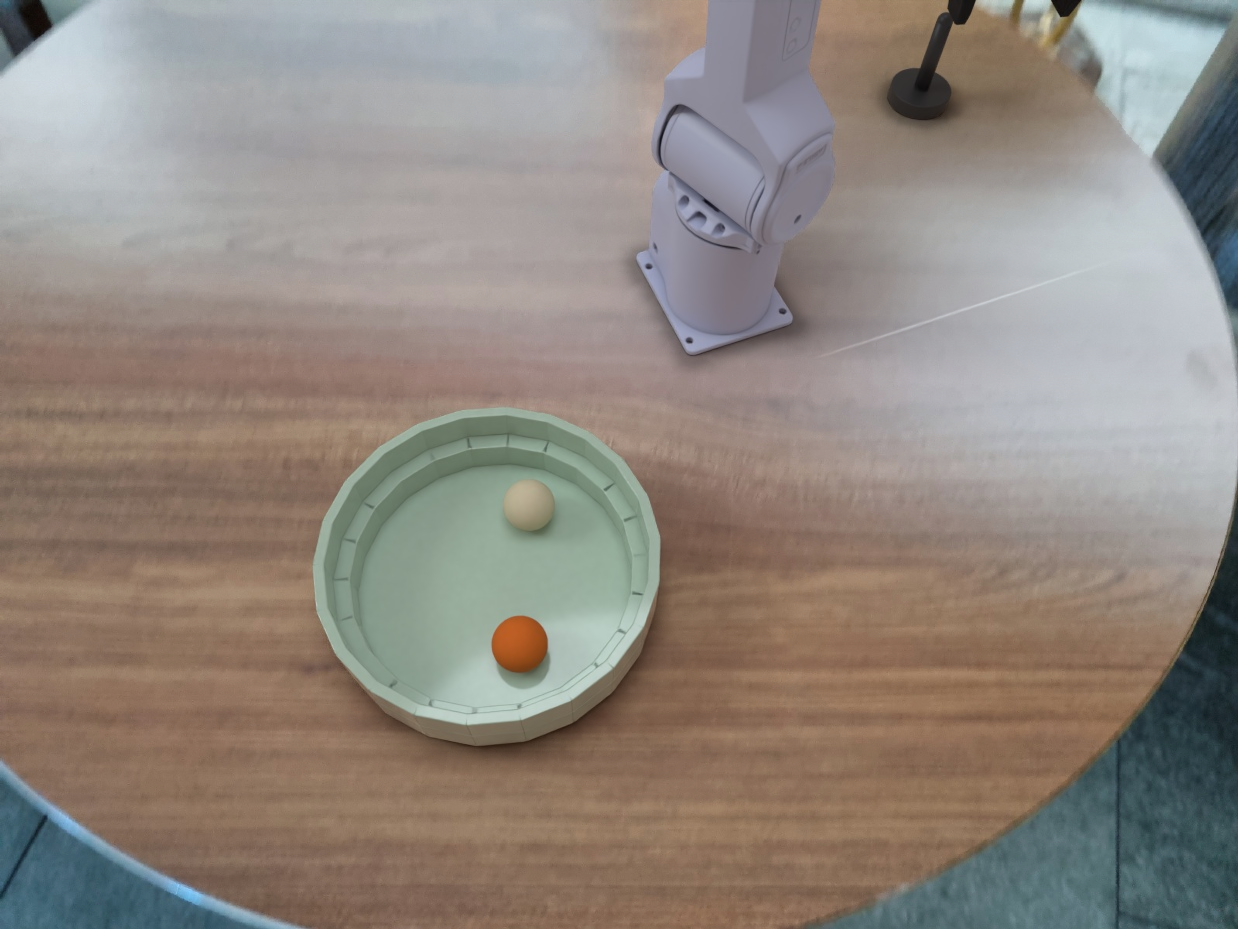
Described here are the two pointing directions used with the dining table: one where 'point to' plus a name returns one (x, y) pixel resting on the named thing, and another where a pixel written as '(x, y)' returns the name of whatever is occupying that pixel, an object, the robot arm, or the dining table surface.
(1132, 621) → the dining table surface
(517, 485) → the beige ball
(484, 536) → the bowl
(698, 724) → the dining table surface
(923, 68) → the black peg stand
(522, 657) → the orange ball
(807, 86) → the robot arm
